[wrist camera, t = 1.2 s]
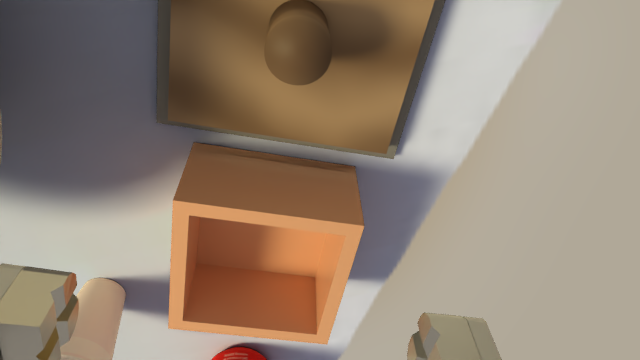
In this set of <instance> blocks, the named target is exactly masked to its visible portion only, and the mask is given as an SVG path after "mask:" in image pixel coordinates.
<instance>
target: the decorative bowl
mask: <svg viewBox="0 0 640 360" xmlns="http://www.w3.org/2000/svg"><path fill="white" fill-rule="evenodd" d="M1 152H2V124H1V111H0V164H1Z"/></svg>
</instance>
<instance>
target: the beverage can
mask: <svg viewBox="0 0 640 360" xmlns="http://www.w3.org/2000/svg"><path fill="white" fill-rule="evenodd" d="M212 360H267V359H266V358H265V357H264V356H263V355H261V354H260V353H259V352H257V351H255V350H253V349H251V348H246V347H233V348H229V349H227V350H225V351H222V352H220V353H219V354H217V355H216V356H215V357H214V358H213V359H212Z"/></svg>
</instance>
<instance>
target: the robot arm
mask: <svg viewBox="0 0 640 360" xmlns="http://www.w3.org/2000/svg"><path fill="white" fill-rule="evenodd" d="M76 286H77V281H76V274H74V273H72V272H65V271H57V270H50V269H43V268H36V267H29V266H18V265H11V264H4V263H2V264H1V265H0V360H60V359H61V351H60V347H61V346H62V345H64V344H65V343H67V342H68V341H70V338H71V336H72V334H73V332H74V330H75V326H76V322H77V319H78V312H79V301H78V298H77V297H76V296H75V295H74V294H73V292H74V290H75V288H76ZM418 327H419V331H418V332H417V333H415V334H413V335H412V337H411V339H410V342H409V345H408V353H407V360H502V359H501V357H500V354H499V352H498V350H497V347H496V345H495V342H494V340H493V338H492V335H491V333H490V330H489V328H488V325H487V323H486V321H485V320H484V319H482V318H473V317H461V316H454V315H444V314H435V313H423V314H422V315H421V316H420V318H419V321H418Z"/></svg>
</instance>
